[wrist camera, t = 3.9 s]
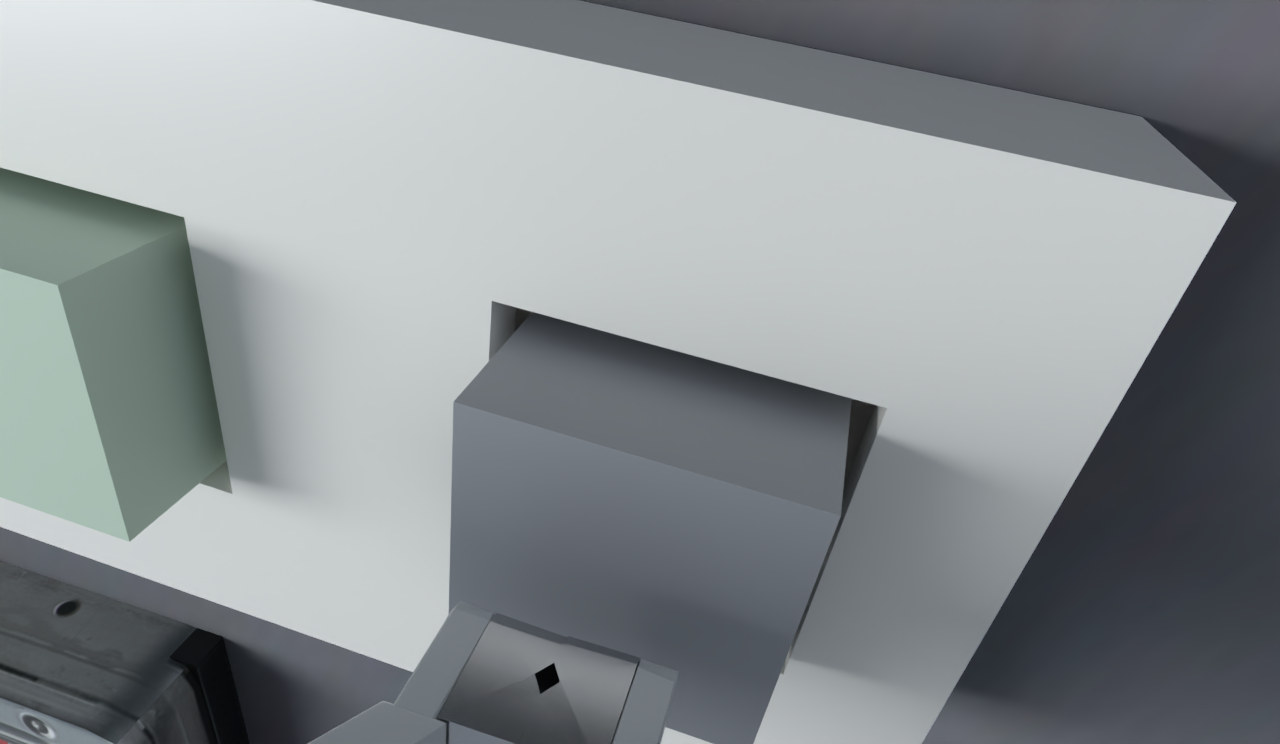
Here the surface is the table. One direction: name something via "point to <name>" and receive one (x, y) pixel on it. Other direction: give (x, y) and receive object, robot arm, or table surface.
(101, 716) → the hard drive
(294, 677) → the table surface
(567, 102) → the key panel
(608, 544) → the grey key
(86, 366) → the sage key
